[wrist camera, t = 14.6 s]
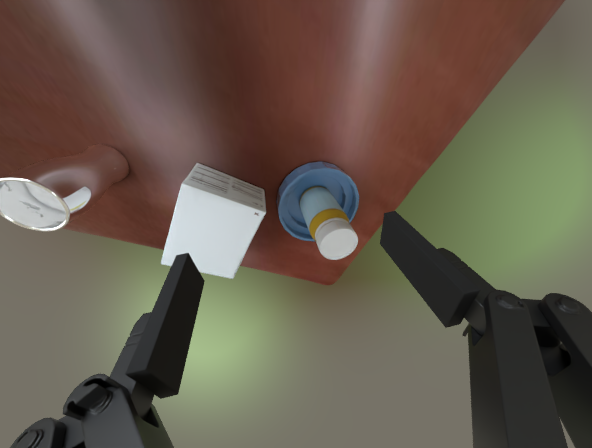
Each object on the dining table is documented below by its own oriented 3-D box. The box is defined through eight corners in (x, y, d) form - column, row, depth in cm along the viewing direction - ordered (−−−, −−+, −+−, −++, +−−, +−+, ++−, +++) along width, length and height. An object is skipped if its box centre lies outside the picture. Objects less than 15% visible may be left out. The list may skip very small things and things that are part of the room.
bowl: (262, 181, 41) (263, 191, 38) (340, 146, 40) (348, 153, 36) (293, 239, 51) (296, 251, 47) (356, 212, 49) (365, 222, 46)
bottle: (322, 217, 48) (347, 264, 35) (294, 210, 45) (309, 257, 33) (336, 190, 44) (369, 231, 32) (306, 180, 42) (329, 221, 30)
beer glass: (123, 190, 38) (61, 242, 25) (75, 166, 34) (-24, 212, 22) (139, 159, 36) (80, 201, 23) (90, 131, 32) (-10, 161, 20)
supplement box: (195, 160, 37) (180, 181, 29) (264, 188, 42) (267, 212, 35) (174, 233, 44) (158, 265, 37) (236, 250, 49) (233, 280, 42)
